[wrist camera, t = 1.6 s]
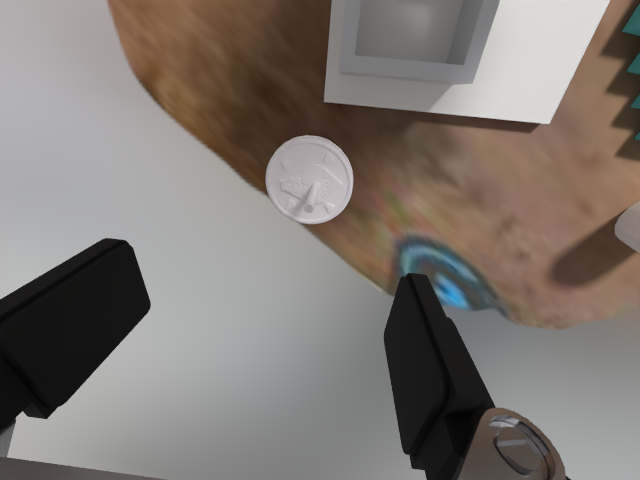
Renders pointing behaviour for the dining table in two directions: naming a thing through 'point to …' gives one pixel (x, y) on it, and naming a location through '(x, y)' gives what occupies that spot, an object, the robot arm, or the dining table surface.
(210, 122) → the dining table surface
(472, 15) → the bottle stand
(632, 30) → the alien figure
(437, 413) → the robot arm
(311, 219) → the smoothie
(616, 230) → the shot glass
